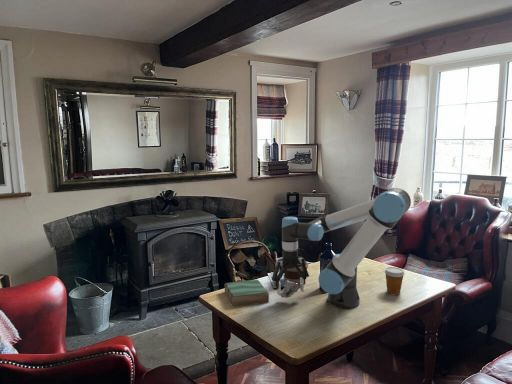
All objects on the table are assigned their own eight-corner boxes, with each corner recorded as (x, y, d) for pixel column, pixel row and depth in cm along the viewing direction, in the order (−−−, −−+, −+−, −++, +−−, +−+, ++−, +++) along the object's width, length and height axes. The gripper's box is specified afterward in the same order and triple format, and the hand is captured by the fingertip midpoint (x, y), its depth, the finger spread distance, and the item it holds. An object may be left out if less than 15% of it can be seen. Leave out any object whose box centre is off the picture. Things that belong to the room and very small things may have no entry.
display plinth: (268, 302, 184) (268, 292, 183) (232, 307, 179) (232, 297, 178) (258, 287, 201) (257, 278, 200) (224, 292, 196) (224, 282, 195)
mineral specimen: (285, 303, 186) (299, 303, 178) (274, 295, 182) (287, 295, 175) (292, 285, 190) (306, 285, 182) (281, 277, 187) (294, 276, 179)
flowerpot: (296, 274, 220) (296, 241, 217) (313, 282, 207) (314, 247, 204) (275, 279, 213) (275, 244, 210) (292, 288, 200) (292, 252, 197)
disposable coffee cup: (393, 297, 188) (394, 274, 187) (379, 290, 197) (380, 268, 195) (407, 294, 192) (408, 271, 190) (393, 287, 201) (394, 265, 199)
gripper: (309, 244, 188) (309, 286, 191) (264, 249, 181) (265, 293, 184) (316, 248, 180) (316, 292, 184) (269, 254, 174) (270, 299, 177)
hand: (290, 292), depth 184 cm, fingers closed on mineral specimen, 11 cm apart
